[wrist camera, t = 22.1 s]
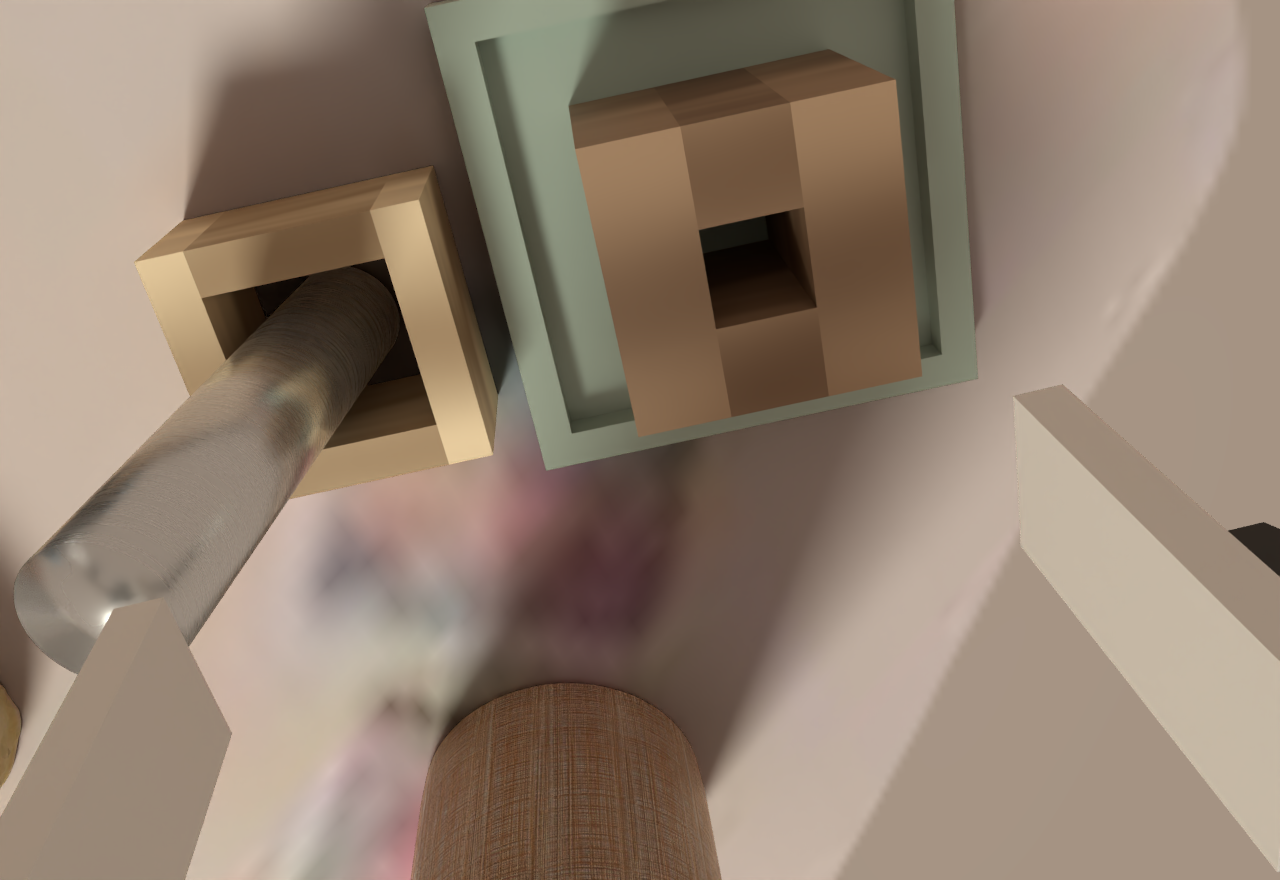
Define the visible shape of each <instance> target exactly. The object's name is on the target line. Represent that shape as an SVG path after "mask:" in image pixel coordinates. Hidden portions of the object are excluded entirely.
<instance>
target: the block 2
mask: <svg viewBox="0 0 1280 880" xmlns="http://www.w3.org/2000/svg"><path fill="white" fill-rule="evenodd" d="M568 107H569V113H570V120H571V126H572V133H573V139H574V146H575V152H576V156H577V161H578V165H579V170H580V174H581V179H582V183H583V188H584V192H585V197H586V201H587V206H588V211H589V215H590V220H591V224H592V229H593V233H594V238H595V242H596V247H597V251H598V256H599V260H600V265H601V269H602V274H603V279H604V283H605V288H606V292H607V297H608V301H609V306H610V310H611V315H612V319H613V324H614V328H615V333H616V338H617V342H618V347H619V351H620V356H621V360H622V365H623V369H624V374H625V378H626V383H627V387H628V392H629V396H630V401H631V406H632V410H633V415H634V419H635V424H636V428H637V433H638V437H642V436H647V435H651V434H656V433H661V432H665V431H670V430H675V429H679V428H684V427H689V426H693V425H698V424H703V423H707V422H712V421H717V420H721V419H726V418H731V417H735V416H740V415H744V414H749V413H754V412H758V411H763V410H768V409H772V408H777V407H782V406H786V405H791V404H796V403H800V402H805V401H810V400H814V399H819V398H824V397H828V396H833V395H838V394H842V393H847V392H852V391H856V390H861V389H866V388H870V387H875V386H880V385H884V384H889V383H894V382H898V381H903V380H908V379H912V378H917V377H921V376H922V367H921V356H920V344H919V333H918V322H917V311H916V300H915V288H914V277H913V266H912V255H911V244H910V232H909V221H908V210H907V199H906V188H905V176H904V165H903V154H902V143H901V132H900V120H899V109H898V98H897V87H896V79H894V78H891V77H889V76H887V75H885V74H883V73H880V72H878V71H876V70H874V69H872V68H870V67H867V66H865V65H863V64H861V63H859V62H856V61H854V60H852V59H850V58H848V57H845V56H843V55H841V54H839V53H837V52H834V51H832V50H830V49H827V50H822V51H818V52H813V53H808V54H804V55H799V56H795V57H790V58H786V59H781V60H776V61H772V62H767V63H763V64H758V65H753V66H749V67H744V68H740V69H735V70H730V71H726V72H721V73H717V74H712V75H708V76H703V77H698V78H694V79H689V80H685V81H680V82H675V83H671V84H666V85H662V86H657V87H653V88H648V89H643V90H639V91H634V92H630V93H625V94H620V95H616V96H611V97H607V98H602V99H598V100H593V101H588V102H584V103H579V104H575V105H570V106H568ZM761 216H765V218H766V225H767V232H768V238H769V239H767V240H763V241H758V242H754V243H749V244H744V245H740V246H735V247H730V248H726V249H721V250H717V251H712V252H707V253H702V247H701V241H700V236H699V230H701V229H706V228H710V227H715V226H720V225H724V224H729V223H733V222H738V221H743V220H747V219H752V218H756V217H761Z"/></svg>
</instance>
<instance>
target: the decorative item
mask: <svg viewBox="0 0 1280 880" xmlns="http://www.w3.org/2000/svg"><path fill="white" fill-rule="evenodd" d="M20 732H21V717H20V712H19V709H18V708H17V707H16V705H15V704H14V702H13V701H12V700H11V698H10V697H9V696H8V694H7V692H6V690H5V688H4V687H3V686H2V685H1V684H0V788H1V786H2V785H3V784H4V783H5V781H6V779H7V778H8V776H9V774H10V772H11V770H12V767H13V763H14V759H15V755H16V750H17V744H18V738H19V735H20Z"/></svg>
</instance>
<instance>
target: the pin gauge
mask: <svg viewBox="0 0 1280 880" xmlns="http://www.w3.org/2000/svg"><path fill="white" fill-rule="evenodd" d="M399 328H400V319H399V312H398V308H397V306H396V303H395V301H394V299H393V297H392V295H391V294H390V292H389V291H388V290H387V288H386V287H385V286H384V285H383V284H382V283H381V282H380V281H379V280H377V279H376V278H375V277H373V276H372V275H370V274H368V273H366V272H364V271H362V270H359V269H356V268H353V267H347V266H346V267H342V268H337V269H333V270H328V271H323V272H319V273H314V274H312V275H311V276H309V277H308V278H307V279H306V280H305V281H304V282H303V283H302V284H301V285H300V286H299V287H298V288H297V289H296V290H295V291H294V292H293V293H292V294H291V295H290V296H289V297H288V298H287V299H286V300H285V301H284V302H283V303H282V304H281V305H280V306H279V307H278V308H277V309H276V310H275V311H274V313H273V314H272V315H271V316H270V317H269V318H268V319H267V320H266V321H265V322H264V323H263V324H262V325H261V326H260V327H259V328H258V329H257V330H256V331H255V332H254V333H253V334H252V335H251V336H250V337H249V338H248V339H247V340H246V341H245V342H244V343H243V344H242V345H241V346H240V347H239V348H238V349H237V350H236V351H235V352H234V353H233V354H232V355H231V356H230V357H229V358H228V359H227V360H226V361H225V362H224V363H223V364H222V365H221V366H220V367H219V368H218V369H217V370H216V371H215V372H214V373H213V374H212V375H211V376H210V377H209V378H208V379H207V380H206V381H205V382H204V383H203V384H202V385H201V386H200V387H199V388H198V389H197V390H196V391H195V392H194V393H193V394H192V395H191V396H190V397H189V398H188V399H187V400H186V401H185V402H184V403H183V404H182V405H181V406H180V407H179V408H178V409H177V410H176V411H175V412H174V413H173V414H172V416H171V417H170V418H169V419H168V420H167V421H166V422H165V423H164V424H163V425H162V426H161V427H160V428H159V429H158V430H157V431H156V432H155V433H154V434H153V435H152V436H151V437H150V438H149V439H148V440H147V441H146V442H145V443H144V444H143V445H142V446H141V447H140V448H139V449H138V450H137V451H136V452H135V453H134V454H133V455H132V456H131V457H130V458H129V459H128V460H127V461H126V462H125V463H124V464H123V465H122V466H121V467H120V468H119V469H118V470H117V471H116V472H115V473H114V474H113V475H112V476H111V477H110V478H109V479H108V480H107V481H106V482H105V483H104V484H103V485H102V486H101V487H100V488H99V489H98V490H97V491H96V492H95V493H94V494H93V495H92V496H91V497H90V498H89V499H88V500H87V501H86V502H85V503H84V504H83V505H82V506H81V507H80V508H79V509H78V510H77V511H76V512H75V513H74V514H73V515H72V516H71V517H70V519H69V520H68V521H67V522H66V523H65V524H64V525H63V526H62V527H61V528H60V529H59V530H58V531H57V532H56V533H55V534H54V535H53V536H52V537H51V538H50V539H49V540H48V541H47V542H46V543H45V544H44V545H43V546H42V547H41V548H40V549H39V550H38V551H37V552H36V553H35V554H34V555H33V556H32V557H31V558H30V559H29V560H28V561H27V562H26V563H25V564H24V566H23V567H22V568H21V570H20V572H19V573H18V575H17V578H16V581H15V585H14V604H15V609H16V612H17V615H18V618H19V620H20V622H21V624H22V627H23V628H24V630H25V631H26V633H27V634H28V636H29V637H30V638H31V640H32V641H33V642H34V643H35V645H36V646H37V647H38V648H39V649H40V650H41V651H42V652H43V653H45V654H46V655H47V656H48V657H49V658H51V659H52V660H53V661H55V662H56V663H58V664H59V665H61V666H62V667H64V668H66V669H68V670H69V671H71V672H73V673H76V674H79V672H80V670H81V668H82V666H83V664H84V663H85V661H86V659H87V657H88V655H89V653H90V652H91V650H92V648H93V646H94V644H95V642H96V640H97V639H98V637H99V635H100V633H101V631H102V629H103V628H104V626H105V624H106V622H107V620H108V618H109V617H110V615H111V613H112V611H113V609H115V608H119V607H124V606H128V605H132V604H136V603H141V602H145V601H149V600H153V599H158V598H162V597H164V599H165V601H166V603H167V605H168V607H169V609H170V611H171V613H172V615H173V617H174V619H175V621H176V623H177V625H178V627H179V629H180V631H181V633H182V635H183V637H184V639H185V641H186V643H187V645H188V647H189V646H190V644H191V643H192V641H193V640H194V638H195V637H196V635H197V634H198V632H199V631H200V629H201V628H202V627H203V625H204V624H205V622H206V621H207V619H208V618H209V616H210V615H211V613H212V612H213V610H214V609H215V607H216V606H217V604H218V603H219V601H220V600H221V599H222V597H223V596H224V594H225V593H226V591H227V590H228V588H229V587H230V585H231V584H232V582H233V581H234V579H235V578H236V576H237V575H238V573H239V572H240V571H241V569H242V568H243V566H244V565H245V563H246V562H247V560H248V559H249V557H250V556H251V554H252V553H253V551H254V550H255V548H256V547H257V545H258V544H259V543H260V541H261V540H262V538H263V537H264V535H265V534H266V532H267V531H268V529H269V528H270V526H271V525H272V523H273V522H274V520H275V519H276V517H277V516H278V515H279V513H280V512H281V510H282V509H283V507H284V506H285V504H286V503H287V501H288V500H289V498H290V497H291V495H292V494H293V492H294V491H295V489H296V488H297V487H298V485H299V484H300V482H301V481H302V479H303V478H304V476H305V475H306V473H307V472H308V470H309V469H310V467H311V466H312V464H313V463H314V461H315V460H316V459H317V457H318V456H319V454H320V453H321V451H322V450H323V448H324V447H325V445H326V444H327V442H328V441H329V439H330V438H331V436H332V435H333V433H334V432H335V431H336V429H337V428H338V426H339V425H340V423H341V422H342V420H343V419H344V417H345V416H346V414H347V413H348V411H349V410H350V408H351V407H352V405H353V404H354V403H355V401H356V400H357V398H358V397H359V395H360V394H361V392H362V391H363V389H364V388H365V386H366V385H367V383H368V382H369V380H370V379H371V377H372V376H373V375H374V373H375V372H376V370H377V369H378V367H379V366H380V364H381V363H382V361H383V360H384V358H385V357H386V355H387V354H388V352H389V351H390V349H391V348H392V347H393V345H394V343H395V341H396V339H397V336H398V333H399Z"/></svg>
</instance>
